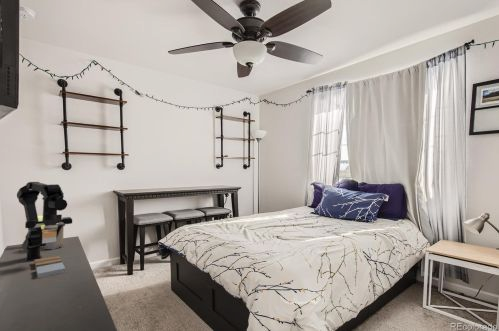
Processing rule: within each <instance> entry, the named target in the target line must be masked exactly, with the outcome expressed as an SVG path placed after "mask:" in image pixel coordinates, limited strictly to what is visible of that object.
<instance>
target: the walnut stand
mask: <svg viewBox="0 0 499 331" xmlns="http://www.w3.org/2000/svg"><path fill="white" fill-rule="evenodd" d="M61 262H62V259H61V257H60V255H55V256H47V257H42V258H41V259H35V260H34V268H35V269H36V267H40V266H45V265H50V264H56V263H61Z"/></svg>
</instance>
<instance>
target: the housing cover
mask: <svg viewBox="0 0 499 331" xmlns="http://www.w3.org/2000/svg"><path fill="white" fill-rule="evenodd" d="M56 234H57V232H56V229H53V230H44V231H42V238H50V237H56Z"/></svg>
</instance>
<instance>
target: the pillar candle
mask: <svg viewBox="0 0 499 331" xmlns="http://www.w3.org/2000/svg"><path fill="white" fill-rule="evenodd" d="M57 224H58V223H57ZM57 224H56V225H48V226H44V230H53V229H57ZM62 246H63V247H64V226H63V227H62V228H61V230H60V231H59V234H58V236H57V238H56V242H50V243H46V244H45V246H42V247H43V248H44V249H53V250H56V249H55V248H58V249H60V248H59V247H61V248H63V247H62ZM44 249H43V250H44Z"/></svg>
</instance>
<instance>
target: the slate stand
mask: <svg viewBox="0 0 499 331" xmlns="http://www.w3.org/2000/svg"><path fill="white" fill-rule="evenodd" d="M64 273H65V274H66V267H65V265H64V262H62V261H61V263H56V264H50V265H45V266H40V267H36V268H35V274H36V277H37V279H41V278H45V277H50V276H54V275H55V276H56V275H59V274H64Z"/></svg>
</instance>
